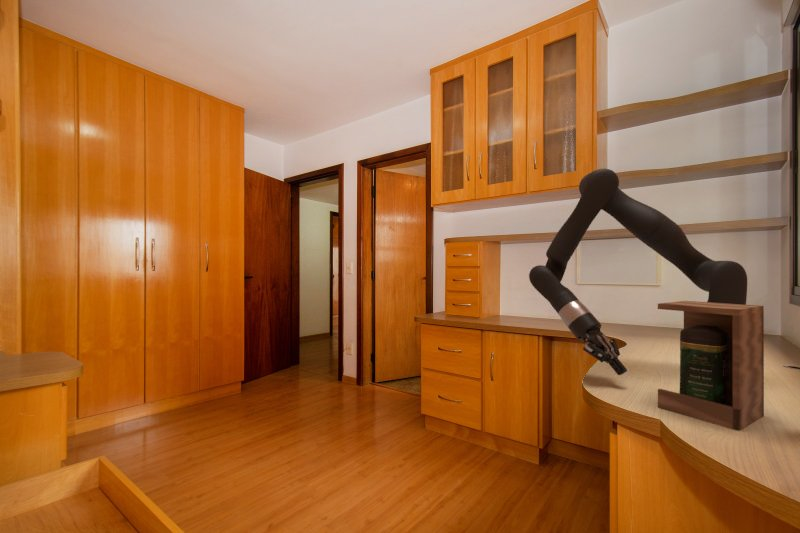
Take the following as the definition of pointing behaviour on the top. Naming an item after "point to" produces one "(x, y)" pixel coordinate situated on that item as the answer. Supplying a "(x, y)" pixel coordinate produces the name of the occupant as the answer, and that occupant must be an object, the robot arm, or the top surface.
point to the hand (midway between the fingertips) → (623, 373)
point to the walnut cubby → (741, 364)
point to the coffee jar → (704, 363)
